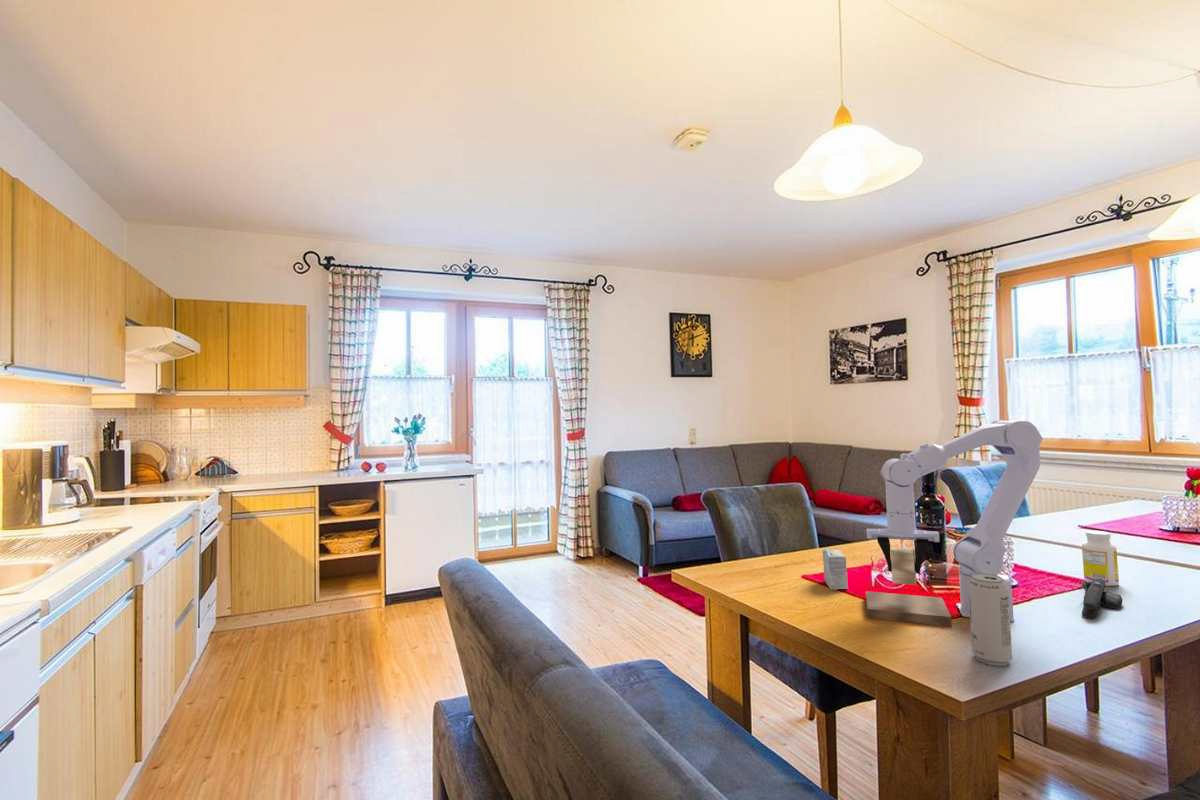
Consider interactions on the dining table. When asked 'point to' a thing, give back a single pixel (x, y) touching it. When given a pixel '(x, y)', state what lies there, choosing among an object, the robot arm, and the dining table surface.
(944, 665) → the dining table surface
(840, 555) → the medicine box
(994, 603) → the energy drink can
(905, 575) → the maple block
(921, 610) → the taupe rectangular slab
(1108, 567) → the supplement bottle
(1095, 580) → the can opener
